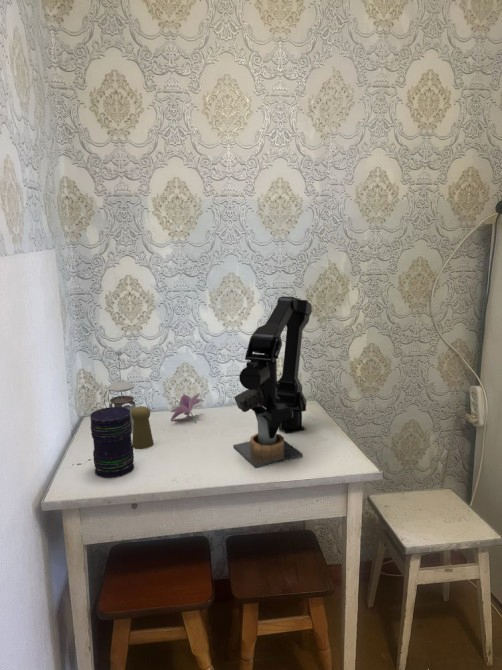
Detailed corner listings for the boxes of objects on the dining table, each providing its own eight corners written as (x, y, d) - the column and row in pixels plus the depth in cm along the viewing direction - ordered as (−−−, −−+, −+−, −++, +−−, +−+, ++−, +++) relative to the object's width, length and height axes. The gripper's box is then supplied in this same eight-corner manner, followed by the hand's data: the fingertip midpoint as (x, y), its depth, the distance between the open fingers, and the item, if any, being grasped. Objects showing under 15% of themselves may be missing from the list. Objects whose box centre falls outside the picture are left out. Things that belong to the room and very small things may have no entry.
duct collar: (277, 438, 146) (277, 425, 145) (302, 456, 133) (302, 443, 132) (233, 447, 140) (232, 434, 139) (254, 468, 127) (254, 453, 127)
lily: (208, 416, 167) (196, 390, 168) (214, 414, 156) (201, 386, 157) (175, 433, 164) (163, 406, 165) (178, 432, 152) (165, 403, 153)
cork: (143, 438, 147) (141, 402, 145) (158, 443, 144) (155, 406, 142) (127, 445, 143) (124, 408, 140) (142, 450, 139) (139, 412, 137)
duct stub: (255, 441, 137) (254, 414, 136) (271, 438, 139) (270, 411, 138) (263, 448, 133) (262, 420, 131) (279, 445, 135) (279, 416, 133)
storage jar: (141, 462, 132) (137, 408, 129) (123, 479, 123) (119, 421, 120) (106, 459, 134) (102, 405, 131) (86, 476, 125) (81, 419, 122)
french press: (124, 437, 148) (118, 355, 143) (96, 431, 154) (89, 351, 149) (147, 426, 157) (141, 348, 152) (119, 420, 162) (113, 344, 158)
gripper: (224, 374, 137) (226, 428, 141) (253, 393, 121) (254, 453, 124) (260, 369, 142) (261, 421, 145) (293, 386, 125) (294, 445, 128)
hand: (266, 434), depth 136 cm, fingers closed on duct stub, 5 cm apart
